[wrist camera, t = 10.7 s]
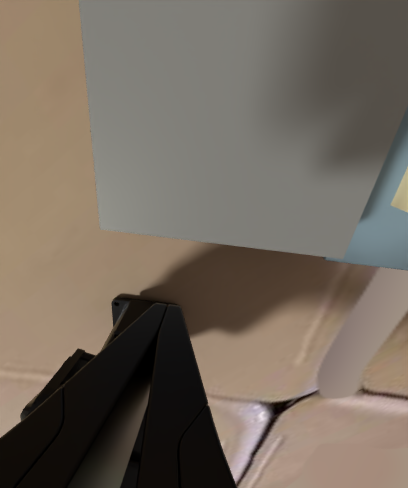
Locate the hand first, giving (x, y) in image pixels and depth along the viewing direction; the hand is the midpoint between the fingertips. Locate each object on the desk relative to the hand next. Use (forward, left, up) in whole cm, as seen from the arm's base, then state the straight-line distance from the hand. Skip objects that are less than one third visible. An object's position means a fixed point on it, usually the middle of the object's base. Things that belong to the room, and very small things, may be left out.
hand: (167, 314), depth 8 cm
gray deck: (+6, -2, -12) cm, 14 cm away
